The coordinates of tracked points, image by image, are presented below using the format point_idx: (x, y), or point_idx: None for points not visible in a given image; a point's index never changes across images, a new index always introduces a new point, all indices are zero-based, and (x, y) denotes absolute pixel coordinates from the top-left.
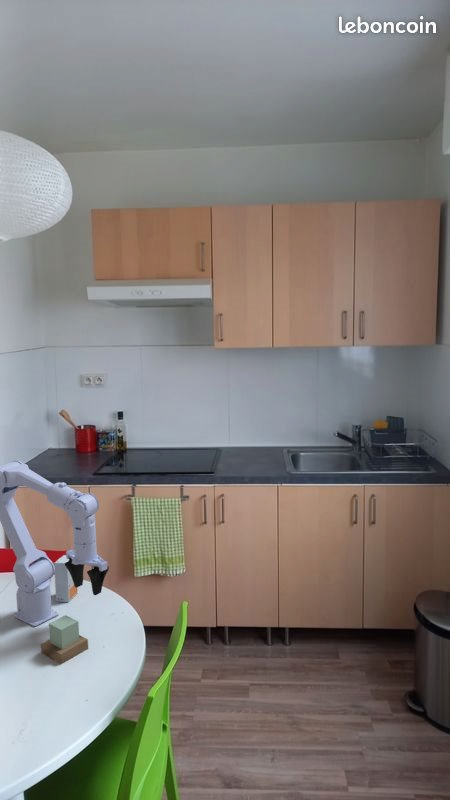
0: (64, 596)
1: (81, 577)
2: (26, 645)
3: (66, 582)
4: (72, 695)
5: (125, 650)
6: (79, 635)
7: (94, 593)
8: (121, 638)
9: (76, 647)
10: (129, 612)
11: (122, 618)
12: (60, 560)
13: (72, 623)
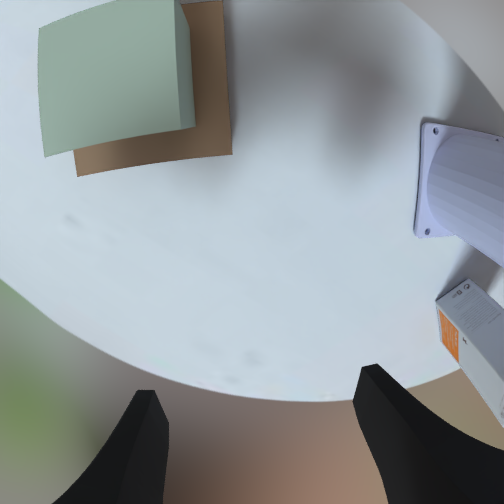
0: (457, 304)
1: (374, 442)
2: (329, 16)
3: (479, 342)
4: None
5: (17, 256)
6: (131, 164)
7: (132, 400)
8: (81, 291)
9: None
10: (215, 389)
11: (198, 363)
12: None
13: (46, 113)
